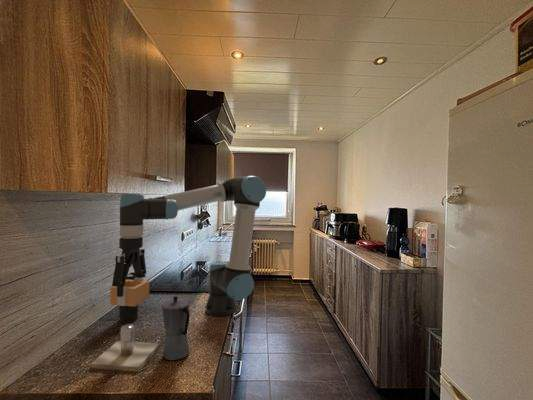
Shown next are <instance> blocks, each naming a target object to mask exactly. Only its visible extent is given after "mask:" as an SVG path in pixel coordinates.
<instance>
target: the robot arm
mask: <svg viewBox="0 0 533 400" xmlns="http://www.w3.org/2000/svg"><path fill="white" fill-rule="evenodd" d="M266 196H267V186H266V184H265V182H264V181H263V179H262V178H260V177H258V176H256V175H246V176H245V175H244V176H236V177H232V178H229V179H225V180H223V181H219V182H216V184H214V185H210V186H205V187H200V188H195V189H190V190H186V191H181V192H176V193H171V194H166V195H162V196H156V197H153V198H152V197H149V198H145V196H144V194H143V193H134V194H124V193H122V194H121V195H120V202H119V240H118V241H119V243H118V245H119V246H118V248H119V249H121V251H122V252H121V254H120V255H116V256H115V265H114V270H113V275H112V276H113V277H112V285H111V287H112V286H114V287H117V305H116V306H118V307H119V306H125V305H126V286H124V285H125V282H126V279H127V275H128V274H129V271H130V268H131V267H132V269H133V272H134V273H135V275H136V277H135V278H134V280H143V278H145V277H146V275H147V268H146V267H147V266H146V259H145V258H146V257H145V254H146V253H145V249H144V248H143V245H144V243H143V241H144V237H143V235H144V221H145V220H172V219H176V218H177V216H178V212H179V211H182V210H186V209H190V208H194V207H199V206H203V205H207V204H212V203H216V202H221V203H224V202H233V205H234V207H235V208H236V209H235V218H234V225H233V232H232V239H231V247H230V252H229V253H230V254H229V260H228V261H217V262H213V263H211V264H210V265H209V270H208V273H209V275H208V276H209V277H208V278H209V281H208V282H209V283H208V284H209V289H208V290H209V292H208V293H209V294H208V298H207V301H206V304H205V313H206V314H207V315H209V316H213V317H226V316H230V315H233V314H235V313H236V312H237V311H238V304H237V303H238V302H237V301H241V300H245V299H246V298H248V296H250V295H251V294H252V292H253V290H254V288H255V287H254V286H255V282H254V279H253V277H252V275H251V274H252V273H251V272H252V267H251V266H250V264H249V262H250V255H251V254H250V253H251V246H252V239H253V231H254V226H255V216H256V211H257V210H258V209H259V208H260V206H261V205H260V204H261V202H262V201H263V200H264V199H265V198H266ZM142 248H143V249H142Z"/></svg>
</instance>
